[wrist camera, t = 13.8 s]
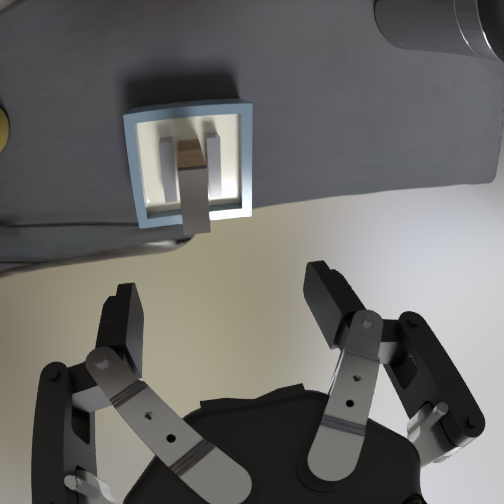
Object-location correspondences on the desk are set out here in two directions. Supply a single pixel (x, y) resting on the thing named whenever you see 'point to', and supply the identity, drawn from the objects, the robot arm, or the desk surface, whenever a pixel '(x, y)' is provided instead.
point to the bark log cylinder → (3, 129)
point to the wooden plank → (193, 187)
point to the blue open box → (166, 157)
